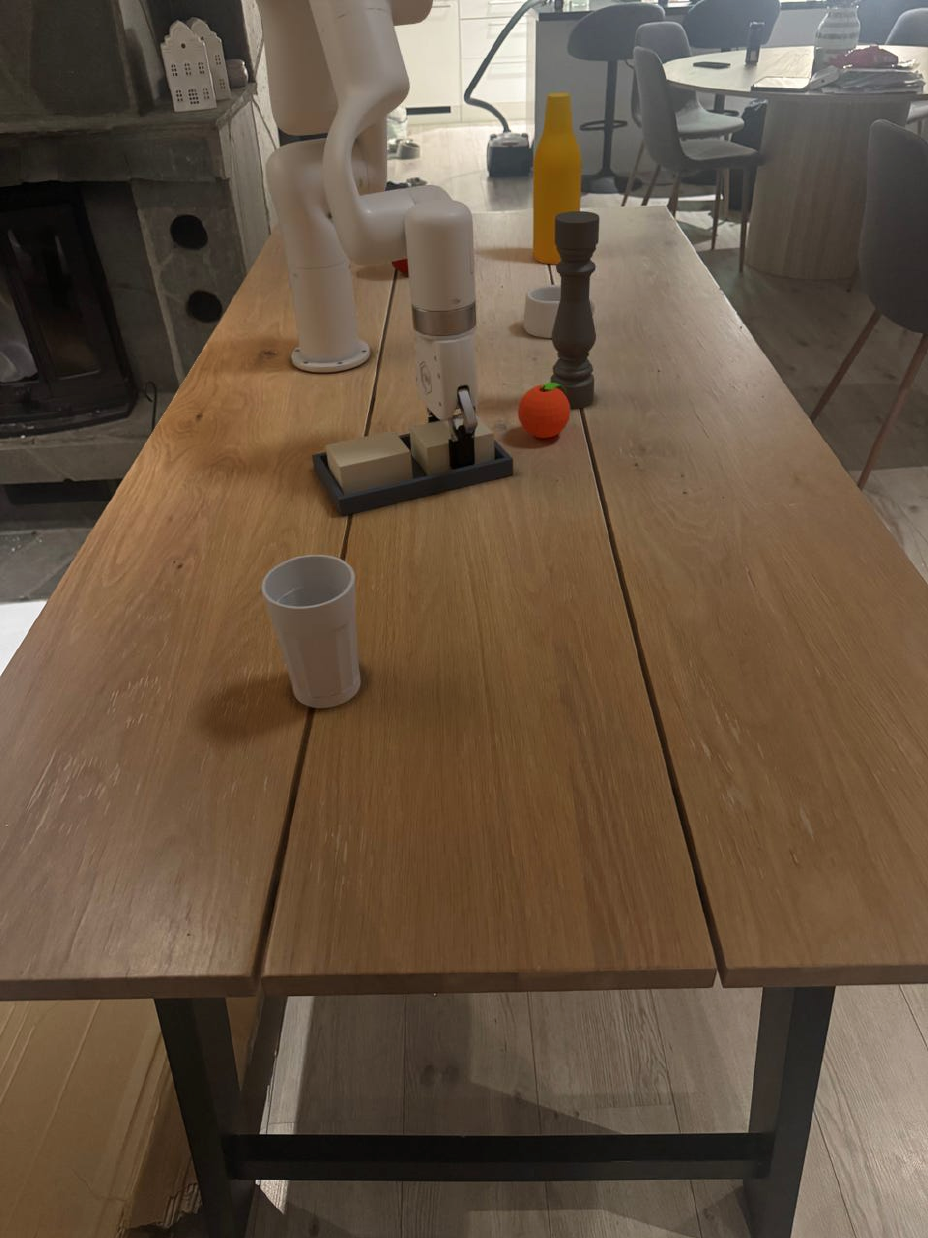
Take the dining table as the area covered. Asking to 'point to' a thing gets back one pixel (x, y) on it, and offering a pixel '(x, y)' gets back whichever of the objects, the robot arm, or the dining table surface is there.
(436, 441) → the beige rectangular block
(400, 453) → the block
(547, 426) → the clementine
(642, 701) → the dining table surface
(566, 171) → the beer bottle
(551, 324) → the mug
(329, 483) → the dark grey flat tray
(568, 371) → the candle holder
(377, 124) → the robot arm
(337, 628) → the cup
